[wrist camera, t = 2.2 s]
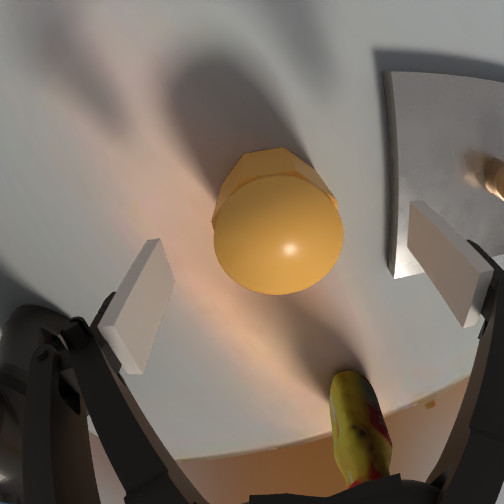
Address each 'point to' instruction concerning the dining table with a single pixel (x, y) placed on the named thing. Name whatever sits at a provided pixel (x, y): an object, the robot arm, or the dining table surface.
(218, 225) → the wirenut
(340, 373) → the bottle
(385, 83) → the plate
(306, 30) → the dining table surface
